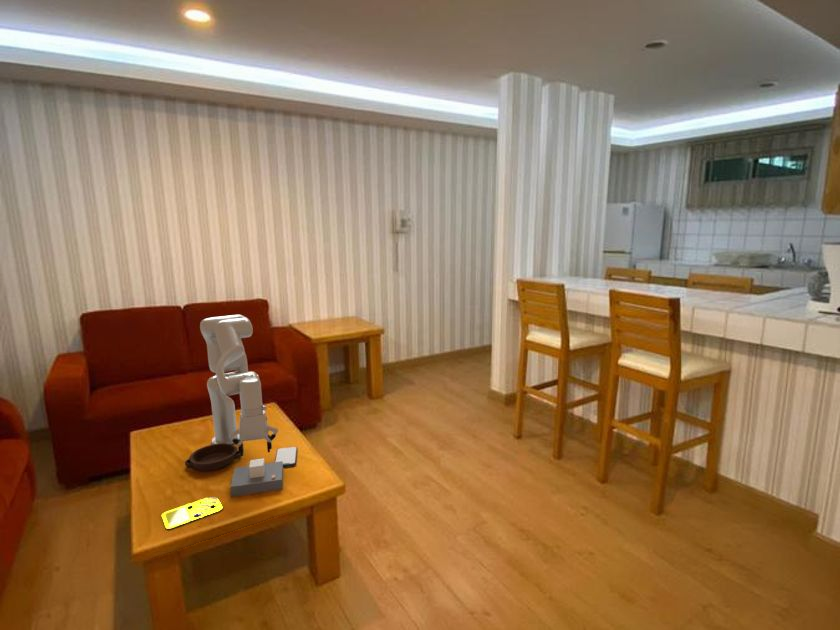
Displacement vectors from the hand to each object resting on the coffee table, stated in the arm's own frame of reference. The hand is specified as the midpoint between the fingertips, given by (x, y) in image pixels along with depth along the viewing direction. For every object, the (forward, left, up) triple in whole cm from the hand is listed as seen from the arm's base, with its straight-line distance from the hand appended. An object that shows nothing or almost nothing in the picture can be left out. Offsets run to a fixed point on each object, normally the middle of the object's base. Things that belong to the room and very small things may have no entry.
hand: (255, 452), depth 175 cm
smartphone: (-17, +10, -13) cm, 24 cm away
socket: (0, 0, -13) cm, 13 cm away
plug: (0, 0, -12) cm, 12 cm away
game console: (+14, -21, -14) cm, 28 cm away
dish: (-21, -19, -13) cm, 31 cm away
